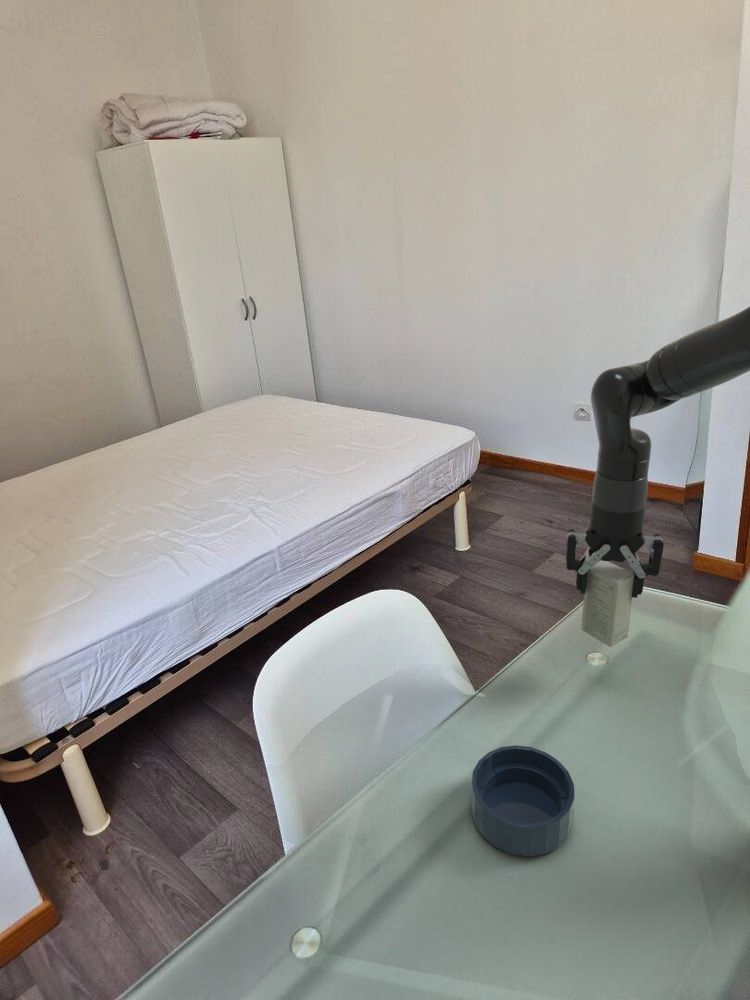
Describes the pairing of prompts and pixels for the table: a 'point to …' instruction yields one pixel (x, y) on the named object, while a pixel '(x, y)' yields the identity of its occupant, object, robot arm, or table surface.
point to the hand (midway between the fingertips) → (608, 592)
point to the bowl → (522, 800)
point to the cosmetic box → (607, 602)
